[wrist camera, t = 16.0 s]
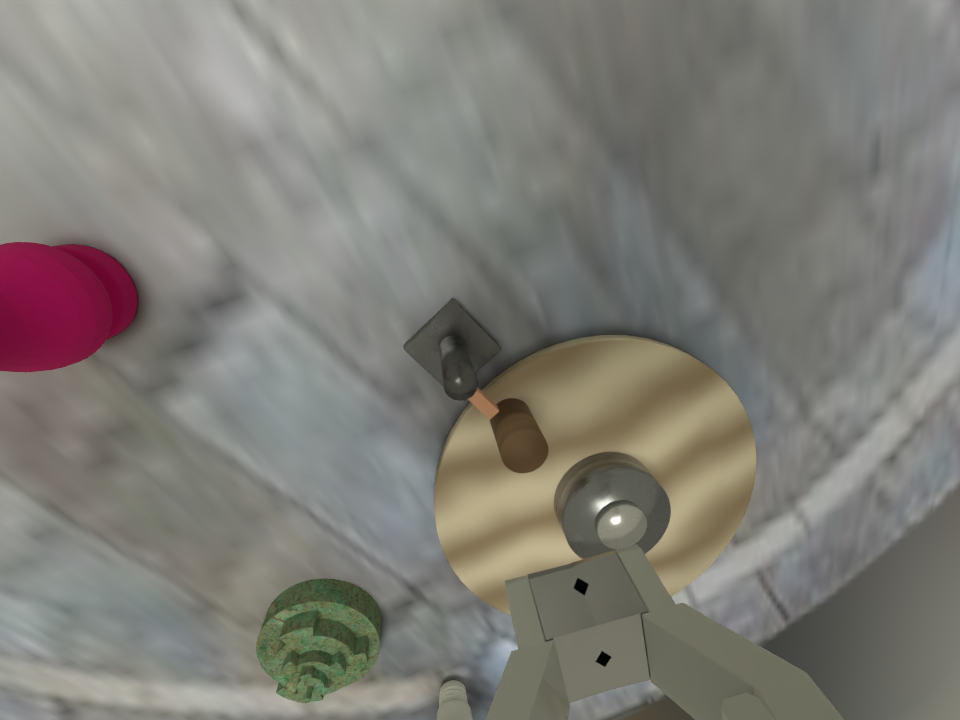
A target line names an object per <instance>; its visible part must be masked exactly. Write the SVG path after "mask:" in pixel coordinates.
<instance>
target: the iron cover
mask: <svg viewBox="0 0 960 720" xmlns="http://www.w3.org/2000/svg"><path fill="white" fill-rule="evenodd" d="M554 510H555V514H556V516H557V519H558V521H559V524H560V526H561V528H562V530H563V533H564V535H565V537H566V540H567V542H568V544H569V546H570V548H571V549H572V550H573V552H574V553H575V554H576V555H578V556H579V557H580V558H582V559H586V558H590V557H593V556H596V555H600V554H603V553H607V552H610V551H614V550H617V549H621V548H624V547H628V546H631V545H635V544H637V545H638V546H639V547H640V548H641V549H642V551H643V553H644V554H646V553H647V552H648V551H650V550H651V549H652V548H653V547H654V546H655V545H656V544H657V543H658V542H659V541H660V539H661V538H662V536H663V535H664V533H665V531H666V529H667V527H668V524H669V521H670V516H671V506H670V501H669V498H668V496H667V493H666V492H665V490H664V489H663V488H662V486H661V485H660V484H659V483H658V482H657V480H656V479H655V478H654V477H653V476H652V475H651V473H650V472H649V471H648V470H647V469H646V467H645V466H644V465H643V464H642V463H641V462H640V461H639V460H637V459H636V458H634V457H632V456H630V455H627V454H624V453H620V452H603V453H598V454H594V455H591V456H588V457H586V458H584V459H582V460H580V461H579V462H577V463H576V464H575V465H573V466H572V467H571V468H570V469H569V470H568V471H567V472H566V473H565V474H564V476H563V477H562V478H561V480H560V482H559V484H558V486H557V488H556V491H555V495H554Z"/></svg>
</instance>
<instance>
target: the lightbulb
mask: <svg viewBox="0 0 960 720" xmlns="http://www.w3.org/2000/svg"><path fill="white" fill-rule="evenodd" d="M437 720H473V719H472V714H471V709H470V706H469V705H468V703H467V695H466V690H465V686H464V685H463V684H462V683H461V682H459V681H456V680H450V681H448V682H446V683H444V684H443V685H442V687H441V688H440V691H439V709H438V712H437Z"/></svg>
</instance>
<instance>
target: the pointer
mask: <svg viewBox="0 0 960 720" xmlns="http://www.w3.org/2000/svg"><path fill="white" fill-rule="evenodd" d="M500 349H501V348H500V346H499V345H498V344H497V343H496V341H495V340H494V339H493V338H492V337H491V336H490V335H489V334H488V333H487V332H486V331H485V330H484V329H483V328H482V327H481V326H480V325H479V324H478V323H477V322H476V321H475V320H474V319H473V318H472V317H471V316H470V315H469V314H468V313H467V312H466V311H465V310H464V309H463V308H462V307H461V306H460V305H459V304H458V303H457V302H456V301H455V300H454V299H453V298H452V299H451V300H450V301H449V302H448V303H447V304H446V305H445V306H444V307H443V308H442V309H441V310H440V311H439V312H438V313H437V314H436V315H435V316H434V317H433V318H431V319H430V320H429V321H428V322H427V323H426V324H425V325H424V326H423V327H422V328H421V329H420V330H419V331H418V332H417V333H416V334H415V335H414V336H413V337H412V338H411V339H410V340H409V341H408V342H406V343H405V344H404V350H405V351H406V352H407V353H408V354H409V355H410V356H411V357H413V358H414V359H415V360H416V361H417V362H418V363H419V364H420V365H421V366H422V367H423V368H424V369H425V370H427V371H428V372H429V373H430V374H431V375H432V376H433V377H434V378H435V379H436V380H437V381H438V382H439V383H441V384H442V385H443V386H444V389H445V392H446V394H447V395H448V396H449V397H450V398H452V399H454V400H459V401H461V400H466V399H468V400H469V401H470V402H471V403H472V404H473V405H474V406H475V407H477V408H478V409H479V410H480V411H481V412H482V413H483V414H484V415H485V416H486V417H487V418H488V419H489V420H490V419H491V418H492V417H494V416H495V415H496V414H497V413H498V412H499V409H498V406H497V405H496V404H495V403H494V402H493V401H492V400H491V399H490V398H489V397H488V396H486V395H485V394H484V393H483V392H482V391H481V390H480V389H479V388H478V381H477V377H476V374H475V373H476V372H477V371H478V370H479V369H480V368H481V367H482V366H483V365H484V364H485V363H486V362H487V361H489V360H490V359H491V358H492V357H493V356H494V355H495V354H496V353H497V352H498V351H499V350H500Z"/></svg>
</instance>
